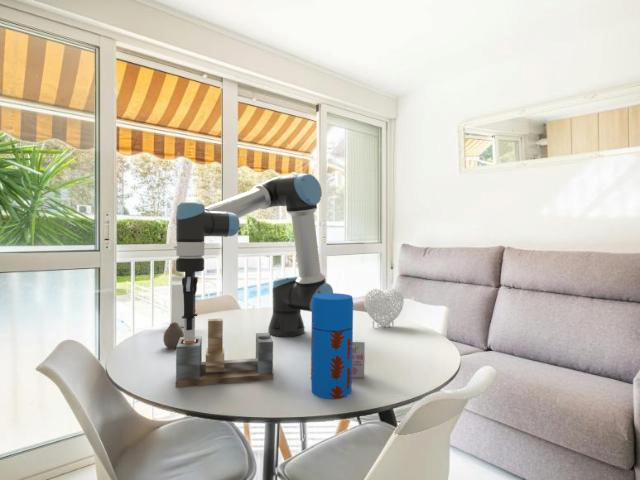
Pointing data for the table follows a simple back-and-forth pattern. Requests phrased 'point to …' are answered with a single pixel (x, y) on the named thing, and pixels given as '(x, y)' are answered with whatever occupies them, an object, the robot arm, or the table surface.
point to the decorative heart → (383, 306)
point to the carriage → (215, 346)
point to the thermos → (331, 345)
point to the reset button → (189, 342)
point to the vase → (173, 335)
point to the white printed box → (358, 360)
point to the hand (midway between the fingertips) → (189, 340)
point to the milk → (177, 301)
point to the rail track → (225, 378)
